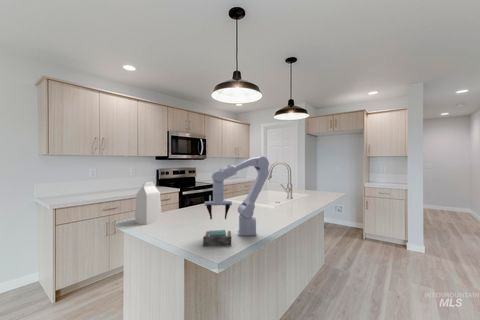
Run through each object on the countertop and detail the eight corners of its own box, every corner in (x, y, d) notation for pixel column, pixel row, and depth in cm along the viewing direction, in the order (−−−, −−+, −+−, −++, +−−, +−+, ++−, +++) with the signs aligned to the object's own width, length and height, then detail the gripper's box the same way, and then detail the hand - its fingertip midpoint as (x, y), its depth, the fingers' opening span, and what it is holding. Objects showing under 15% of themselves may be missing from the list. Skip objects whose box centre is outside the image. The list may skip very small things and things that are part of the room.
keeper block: (224, 239, 115) (224, 229, 115) (225, 244, 109) (225, 233, 109) (209, 240, 114) (209, 230, 114) (209, 245, 108) (209, 234, 108)
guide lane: (230, 233, 124) (230, 225, 124) (231, 245, 106) (231, 237, 106) (206, 233, 123) (206, 226, 123) (203, 246, 105) (203, 237, 105)
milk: (146, 224, 140) (146, 183, 139) (134, 222, 145) (134, 182, 145) (161, 220, 150) (161, 181, 150) (150, 218, 156) (150, 181, 156)
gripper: (231, 192, 124) (231, 216, 124) (205, 192, 123) (205, 217, 123) (232, 194, 117) (232, 220, 117) (204, 194, 115) (204, 220, 116)
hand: (218, 218), depth 119 cm, fingers open, 7 cm apart
